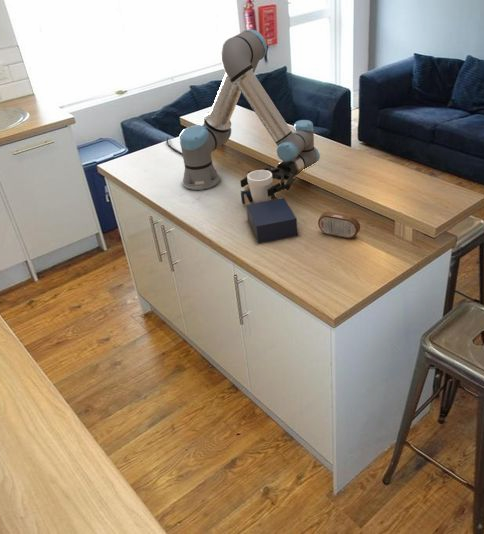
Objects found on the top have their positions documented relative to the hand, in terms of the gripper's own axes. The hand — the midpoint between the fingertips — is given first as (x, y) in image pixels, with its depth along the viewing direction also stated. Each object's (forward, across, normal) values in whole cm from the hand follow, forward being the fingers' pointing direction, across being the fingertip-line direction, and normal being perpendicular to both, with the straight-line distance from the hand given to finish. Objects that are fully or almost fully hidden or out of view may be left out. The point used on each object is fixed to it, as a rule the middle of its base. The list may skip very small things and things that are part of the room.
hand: (254, 188), depth 210 cm
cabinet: (+5, -12, -11) cm, 17 cm away
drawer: (-5, +2, -10) cm, 11 cm away
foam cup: (-3, 0, -9) cm, 10 cm away
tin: (-4, -35, -11) cm, 37 cm away
